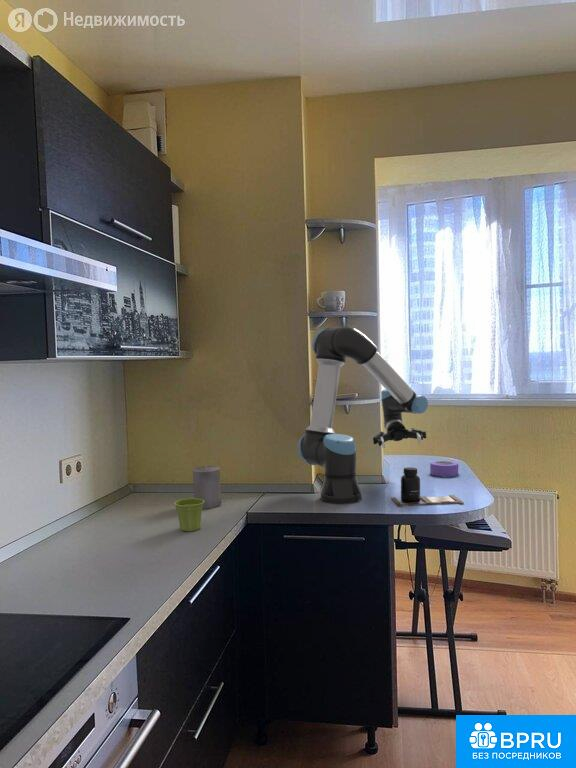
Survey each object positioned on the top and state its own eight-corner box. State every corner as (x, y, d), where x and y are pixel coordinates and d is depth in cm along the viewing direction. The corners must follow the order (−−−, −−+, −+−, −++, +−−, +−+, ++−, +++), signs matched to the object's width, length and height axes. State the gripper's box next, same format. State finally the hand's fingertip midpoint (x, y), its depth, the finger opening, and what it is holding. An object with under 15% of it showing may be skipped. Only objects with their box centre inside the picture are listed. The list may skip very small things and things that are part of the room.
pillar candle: (206, 500, 218) (204, 461, 217) (226, 503, 213) (224, 463, 212) (189, 507, 210) (186, 466, 209) (210, 510, 205) (208, 468, 204)
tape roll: (456, 471, 257) (456, 460, 257) (460, 477, 246) (460, 465, 245) (429, 471, 259) (428, 460, 259) (431, 477, 247) (431, 465, 247)
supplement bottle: (415, 505, 203) (414, 471, 203) (397, 502, 207) (397, 469, 207) (423, 500, 209) (423, 467, 208) (406, 498, 213) (405, 465, 212)
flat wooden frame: (398, 507, 201) (398, 504, 201) (391, 499, 212) (391, 496, 212) (463, 504, 202) (463, 501, 202) (453, 496, 213) (453, 493, 213)
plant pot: (173, 526, 186) (171, 500, 186) (202, 523, 190) (200, 496, 189) (178, 535, 178) (176, 507, 177) (208, 530, 181) (207, 503, 180)
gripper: (427, 435, 236) (436, 448, 215) (366, 442, 239) (369, 456, 218) (425, 417, 235) (434, 428, 214) (364, 425, 238) (367, 436, 217)
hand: (401, 442), depth 216 cm, fingers open, 13 cm apart
